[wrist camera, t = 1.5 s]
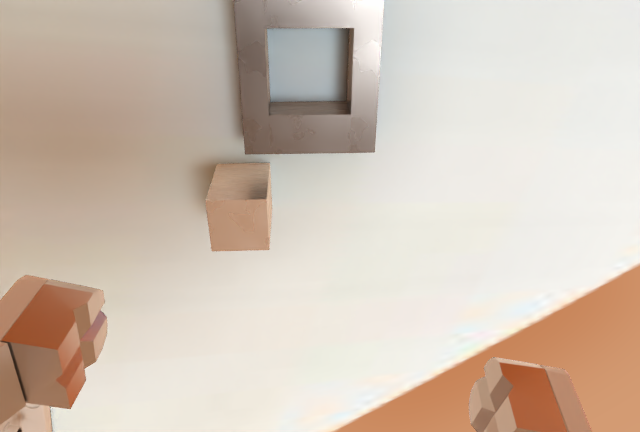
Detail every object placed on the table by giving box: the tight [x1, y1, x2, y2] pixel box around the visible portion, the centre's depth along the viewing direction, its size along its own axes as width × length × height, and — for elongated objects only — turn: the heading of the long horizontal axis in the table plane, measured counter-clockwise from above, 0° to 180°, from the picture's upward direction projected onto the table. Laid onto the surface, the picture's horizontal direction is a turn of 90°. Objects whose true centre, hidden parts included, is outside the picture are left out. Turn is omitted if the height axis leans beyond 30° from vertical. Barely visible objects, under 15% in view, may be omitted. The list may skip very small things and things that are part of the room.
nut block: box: [205, 163, 272, 251], centre depth 36 cm, size 4×4×6 cm
